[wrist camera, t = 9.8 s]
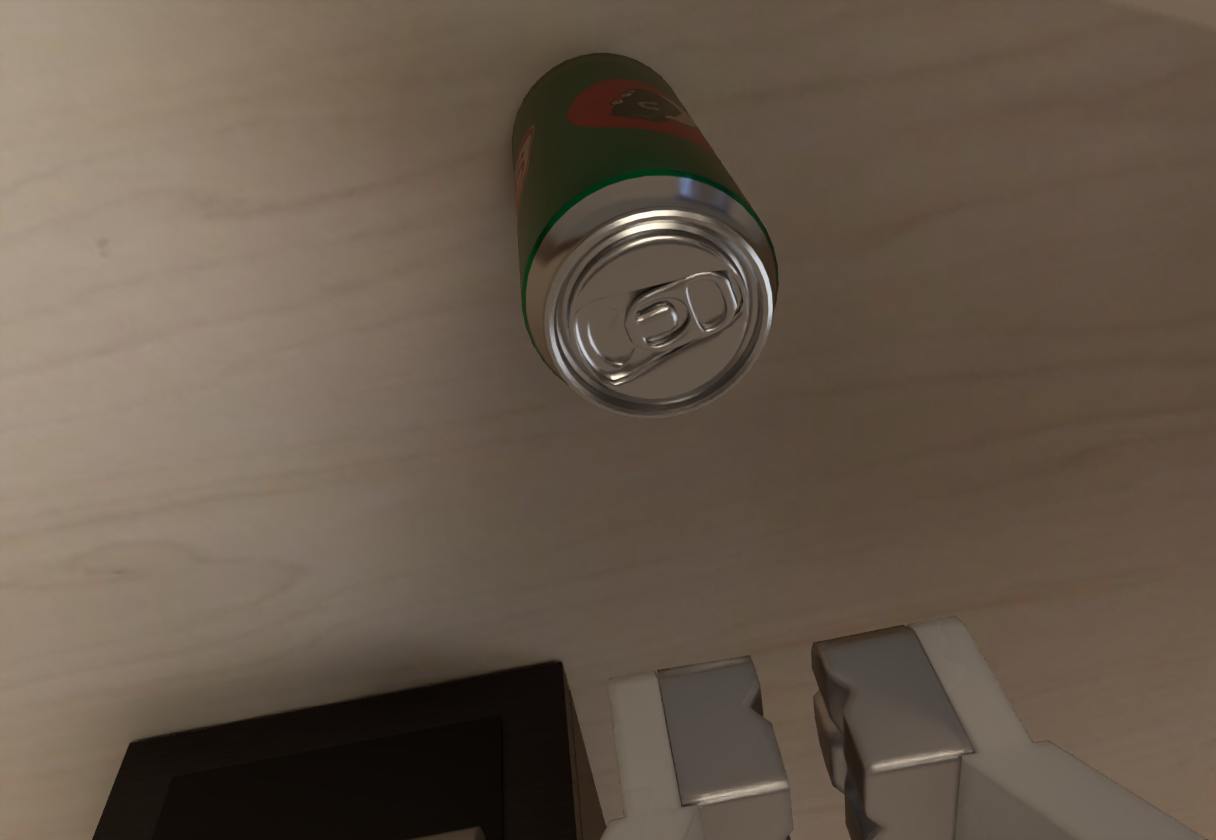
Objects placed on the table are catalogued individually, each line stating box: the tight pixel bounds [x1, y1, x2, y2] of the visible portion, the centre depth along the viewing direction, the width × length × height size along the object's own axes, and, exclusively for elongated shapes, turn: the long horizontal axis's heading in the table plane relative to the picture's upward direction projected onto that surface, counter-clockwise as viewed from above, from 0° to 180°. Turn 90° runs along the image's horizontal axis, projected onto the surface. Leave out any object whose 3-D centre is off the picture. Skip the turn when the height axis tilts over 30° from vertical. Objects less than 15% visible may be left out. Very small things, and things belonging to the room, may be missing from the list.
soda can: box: [512, 53, 779, 419], centre depth 23 cm, size 5×5×12 cm
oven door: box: [92, 662, 582, 840], centre depth 32 cm, size 7×18×14 cm, turn 99°
